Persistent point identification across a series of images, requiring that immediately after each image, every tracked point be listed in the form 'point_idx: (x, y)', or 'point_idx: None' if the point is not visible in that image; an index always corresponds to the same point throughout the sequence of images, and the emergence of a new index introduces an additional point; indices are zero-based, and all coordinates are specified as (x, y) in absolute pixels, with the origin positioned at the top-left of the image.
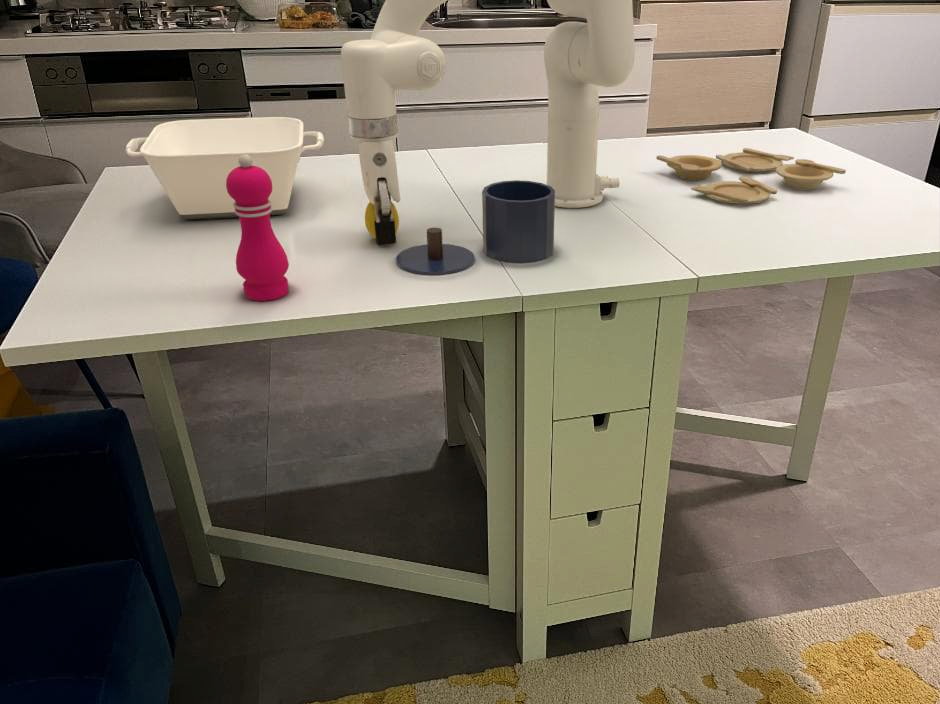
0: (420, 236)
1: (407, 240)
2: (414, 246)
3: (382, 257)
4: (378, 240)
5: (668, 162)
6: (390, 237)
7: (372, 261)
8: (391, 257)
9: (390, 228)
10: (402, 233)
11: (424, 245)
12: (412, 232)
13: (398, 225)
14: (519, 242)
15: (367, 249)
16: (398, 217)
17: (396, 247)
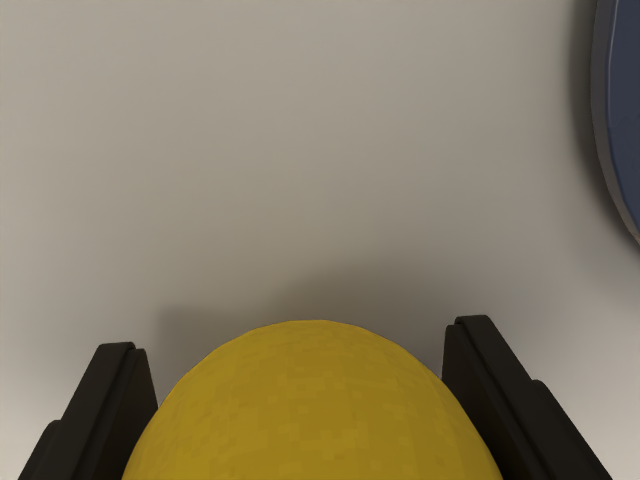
0: (148, 31)
1: (250, 174)
2: (618, 162)
3: (567, 373)
4: None
5: None
6: (544, 394)
7: (608, 427)
8: (593, 321)
9: (599, 461)
10: (48, 200)
11: (635, 57)
12: (16, 101)
13: (356, 344)
14: None
15: None
16: (357, 404)
17: (401, 275)
